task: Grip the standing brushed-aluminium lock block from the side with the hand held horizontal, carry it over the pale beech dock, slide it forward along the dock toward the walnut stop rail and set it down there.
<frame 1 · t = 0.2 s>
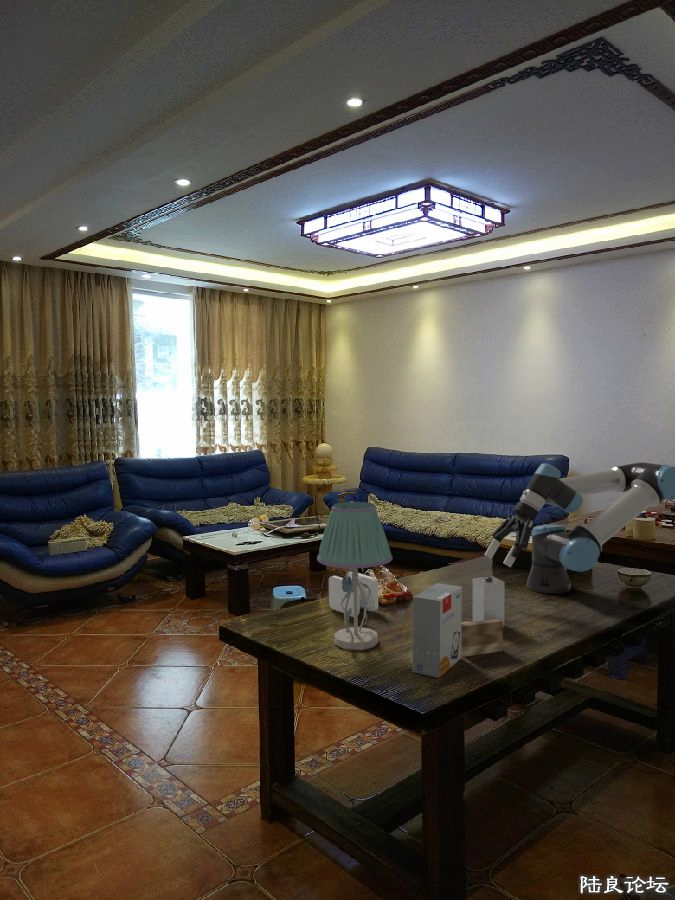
hand: (496, 561, 217), 16 cm above the table, tool tilted 35°, fingers open, 13 cm apart
lock block: (488, 624, 202), on the table
hard drive box: (437, 666, 172), on the table
table lamp: (356, 642, 190), on the table
dock: (467, 642, 188), on the table
cable organizer: (353, 611, 218), on the table
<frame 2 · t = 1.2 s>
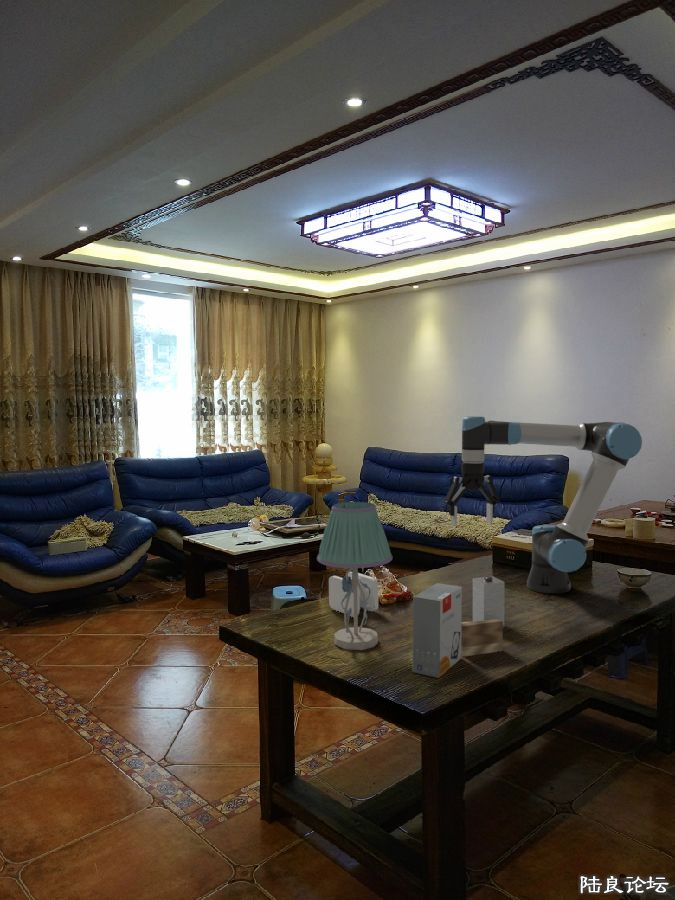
hand: (471, 524, 223), 27 cm above the table, tool pointing down, fingers open, 13 cm apart
nothing on the table moved.
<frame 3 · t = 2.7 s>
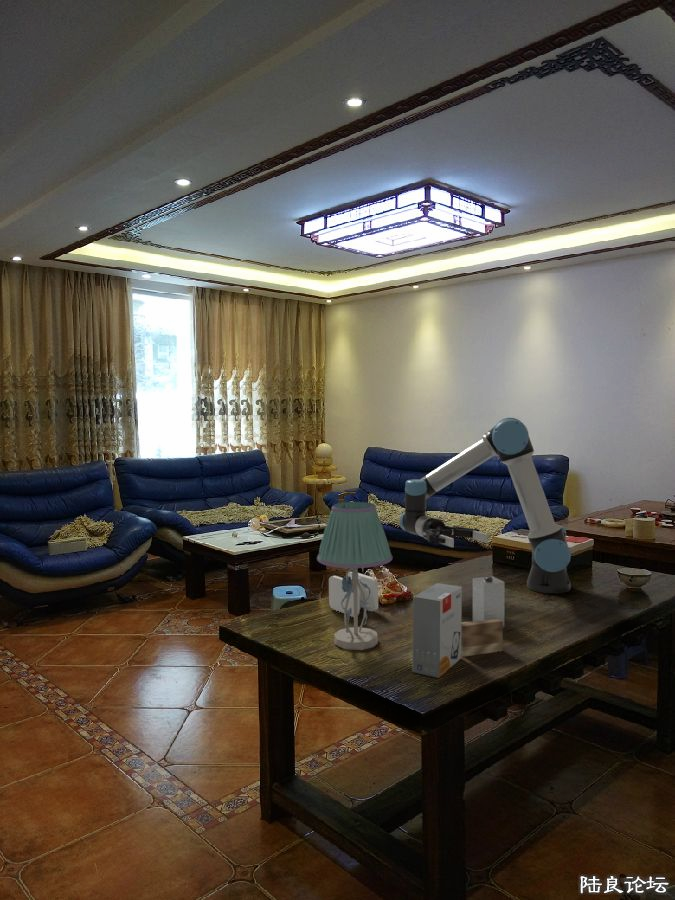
hand: (470, 540, 209), 24 cm above the table, tool horizontal, fingers open, 13 cm apart
nothing on the table moved.
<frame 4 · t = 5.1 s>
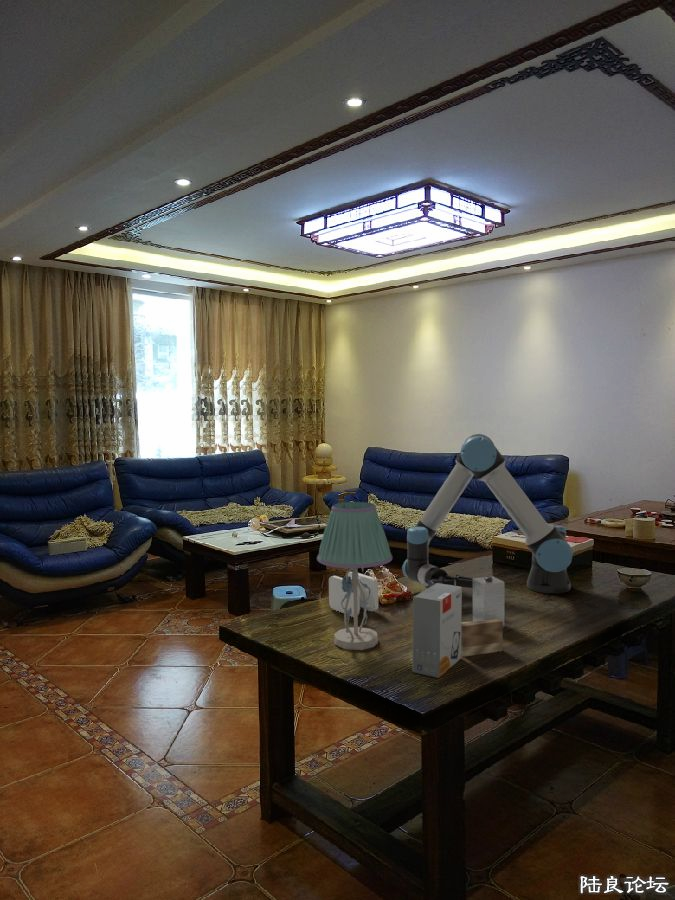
hand: (471, 593, 208), 8 cm above the table, tool horizontal, fingers open, 13 cm apart
nothing on the table moved.
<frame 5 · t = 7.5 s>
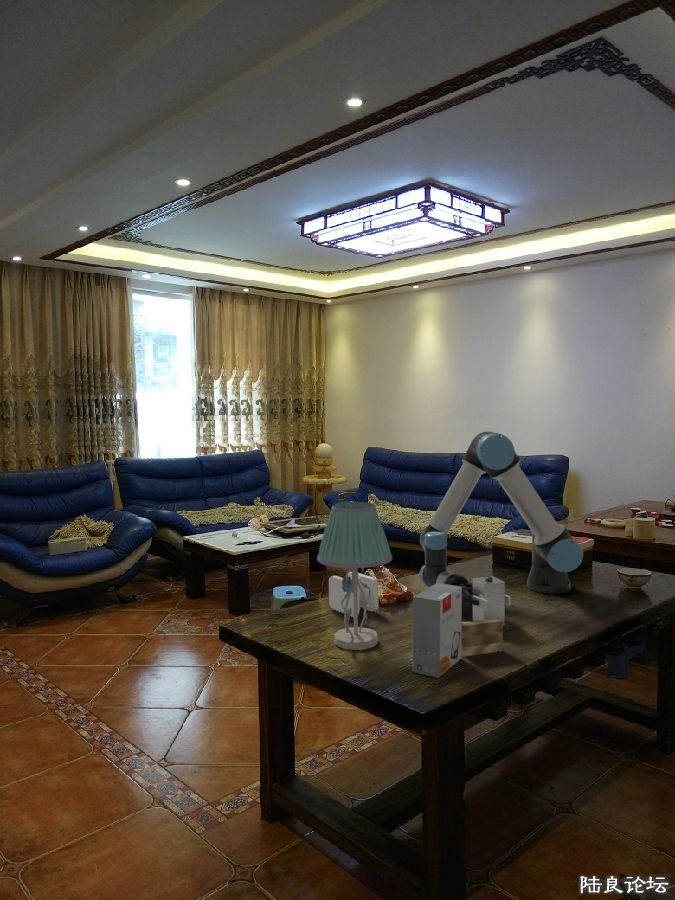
hand: (498, 603, 197), 8 cm above the table, tool horizontal, fingers closed on lock block, 8 cm apart
lock block: (488, 624, 202), on the table, touching gripper
everything else where it was.
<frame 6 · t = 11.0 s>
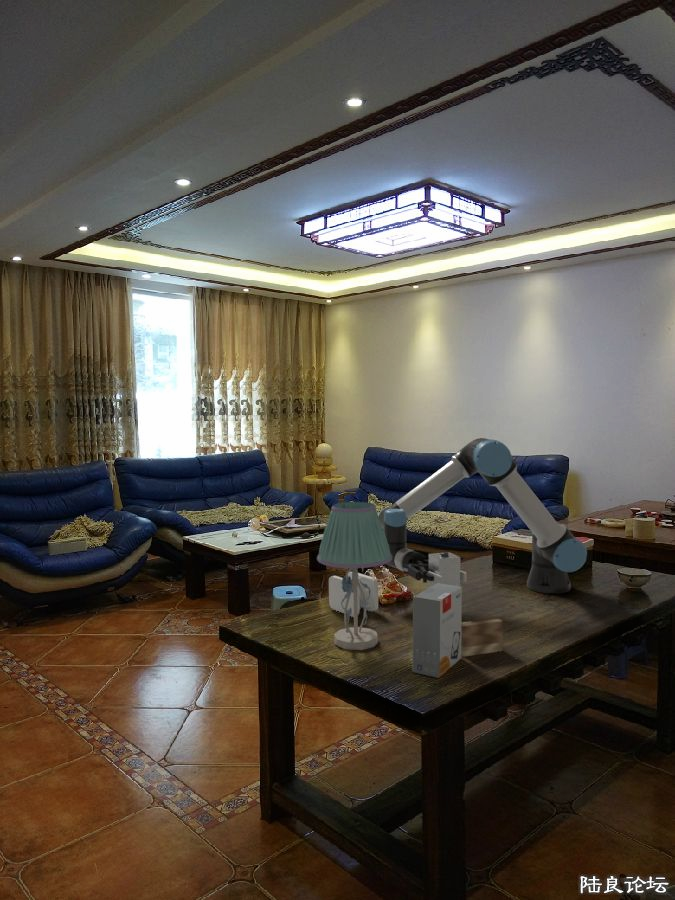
hand: (453, 579, 192), 17 cm above the table, tool horizontal, fingers closed on lock block, 8 cm apart
lock block: (444, 601, 197), point 9 cm above the table, touching gripper
everything else where it was.
when the fingers open (12 cm above the table, at t = 14.4 s): lock block drops 1 cm, resting on dock.
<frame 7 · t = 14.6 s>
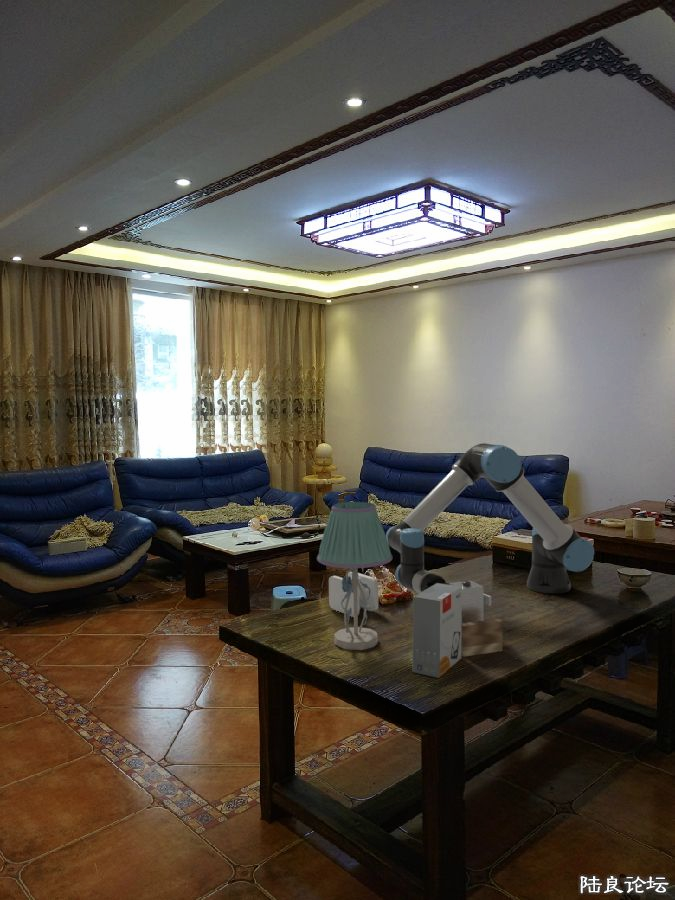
hand: (475, 604, 184), 12 cm above the table, tool horizontal, fingers open, 10 cm apart
lock block: (466, 632, 189), point 3 cm above the table, touching dock
everything else where it was.
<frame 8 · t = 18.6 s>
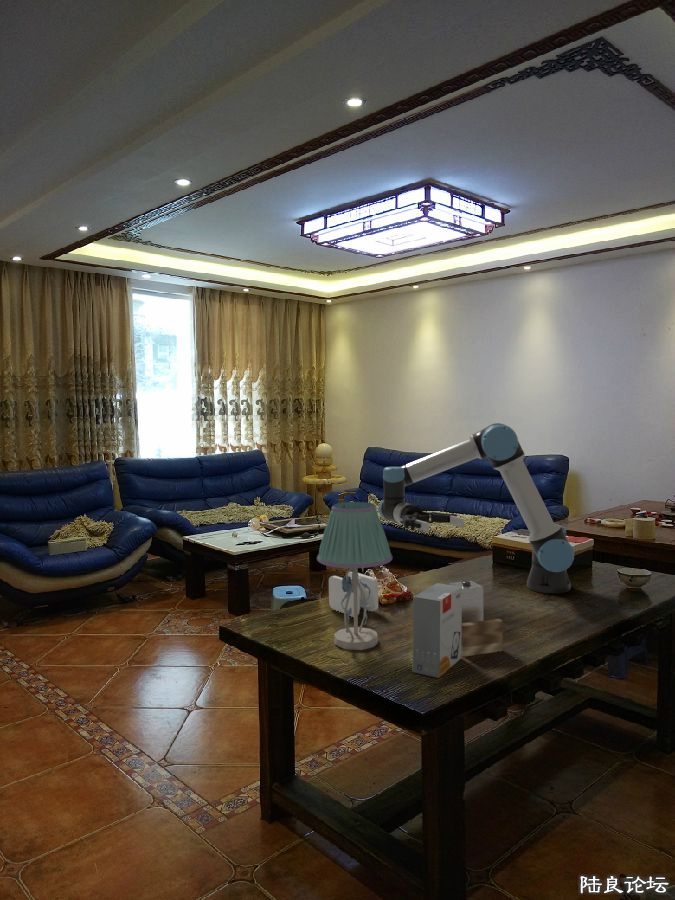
hand: (445, 525, 206), 30 cm above the table, tool horizontal, fingers open, 13 cm apart
nothing on the table moved.
at the end: lock block inside the target area on the dock (0.2 cm from its centre), point 2.5 cm above the dock's base; lock block tilted 0°; the gripper is holding nothing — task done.
